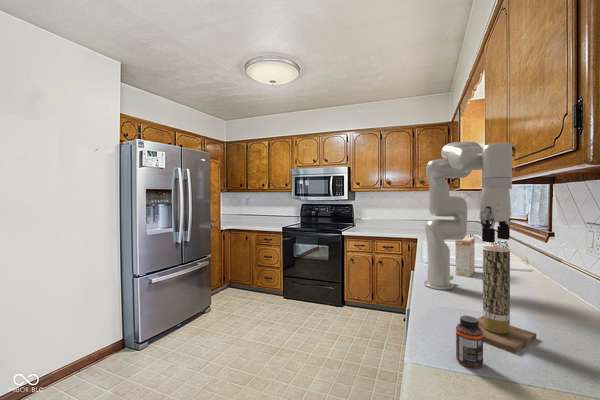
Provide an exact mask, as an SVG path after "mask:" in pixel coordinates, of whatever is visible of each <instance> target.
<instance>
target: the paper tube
mask: <svg viewBox="0 0 600 400" xmlns="http://www.w3.org/2000/svg"><path fill="white" fill-rule="evenodd" d="M482 247H483V249H482V317H483V327H484V328H485V329H486V330H488V331H490V332H493V333H497V334H507V333H509V331H510V325H511V321H510V320H511V319H510V318H511V251H510V248H508V247H504V246H496V245H495V246H493V245H491V246H490V245H489V246H488V245H487V246H482Z"/></svg>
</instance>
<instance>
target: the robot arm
mask: <svg viewBox="0 0 600 400" xmlns="http://www.w3.org/2000/svg"><path fill="white" fill-rule="evenodd" d="M440 154H441V157H442V158H440V159H433V160H430V161H428V163H427V164H426V168H425V174H426V179H427V182H428V186H429V187H428V188H429V195H428V196H429V198H428V199H429V200H428V201H429V205H428V206H429V208H428V209H429V213H430V215H432V216H433V217H441V219H440V218H438V219H437V218H435V219H430V220H428V221H426V223H425V227H424V229H425V234H426V244H427V245H426V246H427V279H426V280H424V281H423V285H424V286H425V287H427V288H431V289H433V290H443V291H444V290H446V291H447V290H453V289H454V284H453V283H452V282H451V281H452V280H454V279H455V277H454V276H453V275H451V273H450V272H451V270H450V269H451V258H450V257H451V250H450V246H449V245H448V244H447V243H446V242H445V240H446V241H447V240H449V241H451V240H452V241H455V240H461V239H464V238H465V237H467V232H468V203H467V201H466V199H465V198H464V197H463V196H454V195H453V196H452V195H451V194H450V188H451V187H450V185H449V183H448V181H447V180H446V179H462V178H467V177H468V176H470V174H471V173H472V171H481V190H482V191H481V194H480V203H479V204H480V205H479V220H480V223H481V237H482V238H481V241H482V242H484V243H492V244H494V243H495V242H496V240H495V239H496V234H497V239H498V240H504V241H505V240H506V241H507V240H510V237H511V236H510V235H511V233H510V232H511V228H510V226H511V223H510V222H511V220H512V219H511V215H512V210H511V208H512V205H511V203H512V202H511V193H510V192H511V191H510V190H512V189H513V188H512V187H513V145H511V144H510V143H509V142H492V143H488V144H485V145H484V146H481V145H480V144H479V142H475V141H454V142H449V143H447V144H445V145H444V146H443V147H442V149H441V153H440ZM450 195H451V196H450ZM443 217H452V218H453V219H446V218H444V219H443ZM496 223H497V224H498V225H497V227H496V228H497V229H495V225H496ZM496 230H497V233H496Z"/></svg>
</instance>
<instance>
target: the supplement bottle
mask: <svg viewBox="0 0 600 400" xmlns="http://www.w3.org/2000/svg"><path fill="white" fill-rule="evenodd" d="M459 318H460V319H459V320H460V321H459V323H458V324H457V325H456V326H455V350H456V351H455V358H456V361H457V362H458V363H459V364H461V365H462V366H464V367H466V368H468V369H469V368H470V369H480V368H482V367H483V366H484V342H483V331H482V329H481V328H480V327H479V326H478V325H479V324H478V318H476V317H475V316H470V315H461V316H460V317H459Z"/></svg>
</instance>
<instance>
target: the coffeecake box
mask: <svg viewBox="0 0 600 400" xmlns="http://www.w3.org/2000/svg"><path fill="white" fill-rule="evenodd" d="M475 241H476V240H475V237H470V236H465V238H464V239H461V240H454V242H455V246H454V247H455V251H454V252H455V276H459V277H465V278H470V277H471V276H472V275H473V274H474V273H476V272H475V269H476V268H475V267H476V265H475V264H476V263H475V261H476V258H475V256H476V255H475V254H476V253H475V251H476V250H475Z"/></svg>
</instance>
